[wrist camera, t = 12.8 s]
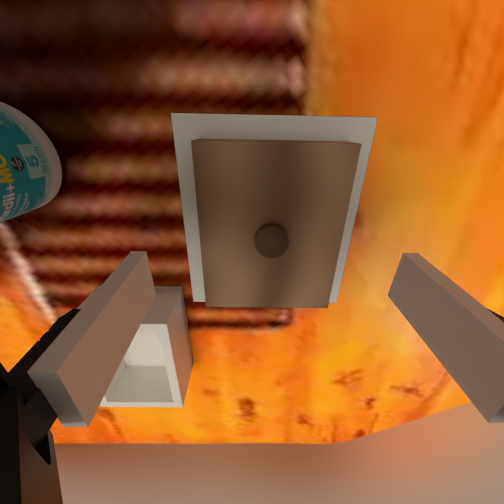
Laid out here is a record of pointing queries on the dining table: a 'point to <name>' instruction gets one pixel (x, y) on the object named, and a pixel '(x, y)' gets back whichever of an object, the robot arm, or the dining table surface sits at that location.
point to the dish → (155, 356)
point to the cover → (271, 219)
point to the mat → (263, 129)
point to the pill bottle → (25, 165)
